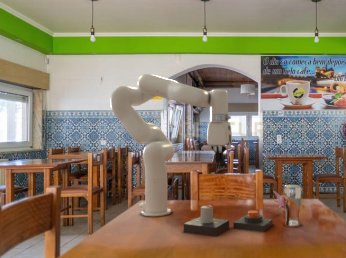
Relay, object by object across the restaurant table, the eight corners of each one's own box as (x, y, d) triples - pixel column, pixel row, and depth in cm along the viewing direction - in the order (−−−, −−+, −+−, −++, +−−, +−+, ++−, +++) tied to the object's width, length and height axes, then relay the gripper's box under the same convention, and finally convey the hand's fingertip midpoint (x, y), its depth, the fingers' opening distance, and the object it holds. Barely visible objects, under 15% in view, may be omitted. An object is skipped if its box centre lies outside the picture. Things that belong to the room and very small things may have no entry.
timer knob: (198, 222, 129) (198, 206, 129) (204, 219, 133) (204, 204, 133) (209, 223, 127) (209, 207, 127) (214, 221, 131) (214, 205, 131)
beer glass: (301, 227, 132) (300, 187, 132) (282, 226, 134) (282, 187, 134) (301, 222, 139) (301, 184, 139) (283, 222, 141) (283, 184, 141)
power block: (233, 228, 132) (233, 217, 132) (243, 221, 141) (243, 211, 141) (263, 231, 127) (263, 220, 127) (272, 224, 136) (272, 214, 136)
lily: (295, 221, 146) (302, 199, 149) (268, 210, 146) (276, 188, 149) (287, 222, 157) (294, 202, 161) (263, 212, 157) (270, 192, 160)
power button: (246, 217, 133) (246, 212, 133) (250, 215, 137) (250, 210, 137) (256, 218, 132) (256, 213, 132) (260, 216, 135) (260, 211, 135)
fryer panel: (183, 232, 127) (183, 223, 127) (199, 224, 137) (199, 216, 137) (215, 236, 122) (215, 227, 122) (229, 228, 132) (229, 219, 132)
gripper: (238, 118, 150) (238, 161, 151) (207, 119, 156) (208, 160, 156) (231, 118, 144) (231, 163, 144) (199, 118, 150) (199, 162, 150)
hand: (219, 161), depth 150 cm, fingers closed
